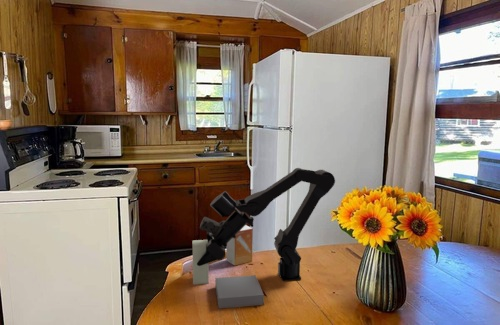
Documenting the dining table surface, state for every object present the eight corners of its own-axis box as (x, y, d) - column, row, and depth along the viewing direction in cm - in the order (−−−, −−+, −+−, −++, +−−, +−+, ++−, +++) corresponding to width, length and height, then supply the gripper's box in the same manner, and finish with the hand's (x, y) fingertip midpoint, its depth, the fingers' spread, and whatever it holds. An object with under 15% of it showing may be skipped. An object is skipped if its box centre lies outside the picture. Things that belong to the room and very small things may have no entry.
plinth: (255, 284, 114) (255, 275, 113) (263, 304, 101) (263, 294, 100) (215, 287, 111) (215, 278, 111) (218, 308, 99) (218, 298, 98)
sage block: (207, 276, 119) (207, 239, 117) (208, 283, 114) (208, 245, 112) (193, 277, 118) (192, 240, 116) (193, 284, 113) (192, 245, 112)
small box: (234, 266, 127) (234, 231, 126) (226, 260, 133) (225, 227, 131) (253, 261, 132) (253, 228, 130) (244, 256, 137) (244, 223, 136)
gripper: (214, 202, 123) (183, 234, 123) (214, 217, 104) (177, 253, 105) (236, 224, 125) (205, 254, 125) (240, 242, 106) (204, 278, 106)
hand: (198, 259), depth 115 cm, fingers open, 9 cm apart
